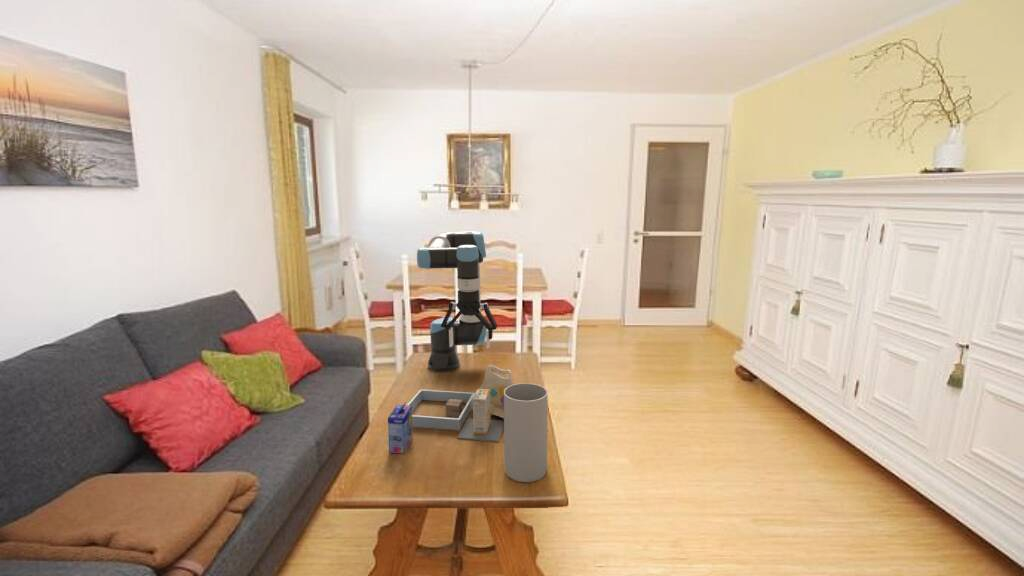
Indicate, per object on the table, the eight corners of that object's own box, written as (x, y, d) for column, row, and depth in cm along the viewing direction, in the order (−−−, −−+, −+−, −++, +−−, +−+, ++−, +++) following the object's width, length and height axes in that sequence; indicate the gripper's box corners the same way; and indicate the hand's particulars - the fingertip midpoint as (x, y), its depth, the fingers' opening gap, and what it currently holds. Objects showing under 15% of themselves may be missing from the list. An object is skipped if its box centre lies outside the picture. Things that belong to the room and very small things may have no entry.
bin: (420, 398, 187) (420, 389, 186) (475, 402, 183) (475, 392, 182) (398, 425, 165) (397, 415, 164) (460, 430, 161) (459, 419, 160)
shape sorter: (529, 417, 170) (529, 370, 167) (509, 426, 162) (509, 378, 160) (491, 402, 183) (491, 359, 181) (471, 410, 176) (471, 365, 173)
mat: (468, 419, 169) (467, 418, 169) (505, 422, 167) (505, 420, 167) (457, 438, 156) (457, 437, 156) (498, 442, 153) (498, 440, 153)
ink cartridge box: (405, 454, 146) (403, 411, 144) (388, 453, 147) (385, 411, 144) (413, 438, 156) (411, 398, 153) (397, 437, 156) (395, 397, 154)
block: (449, 411, 176) (449, 399, 175) (462, 412, 175) (462, 399, 174) (445, 417, 171) (445, 404, 170) (459, 418, 170) (458, 405, 169)
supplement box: (477, 422, 166) (476, 388, 163) (490, 423, 165) (490, 389, 162) (472, 434, 158) (471, 398, 155) (486, 435, 157) (486, 398, 154)
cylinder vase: (533, 488, 129) (534, 405, 124) (496, 474, 135) (495, 394, 130) (553, 466, 139) (555, 388, 134) (518, 455, 146) (518, 380, 141)
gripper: (430, 290, 161) (433, 348, 166) (501, 293, 157) (501, 352, 162) (437, 286, 168) (439, 341, 173) (505, 288, 165) (505, 344, 169)
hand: (469, 346), depth 167 cm, fingers open, 13 cm apart
